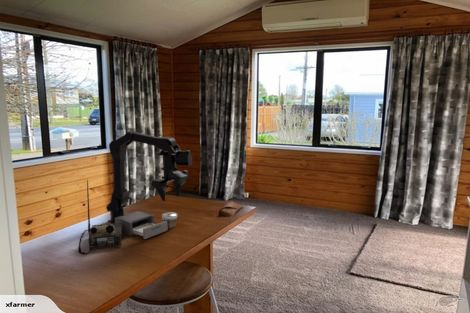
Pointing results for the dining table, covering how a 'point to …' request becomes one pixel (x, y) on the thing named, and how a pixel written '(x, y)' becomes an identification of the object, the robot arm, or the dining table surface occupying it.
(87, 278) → the dining table surface
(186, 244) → the dining table surface
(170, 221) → the walnut block
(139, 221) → the grey drawer cabinet
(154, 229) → the tray
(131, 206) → the dining table surface
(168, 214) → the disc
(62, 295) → the dining table surface
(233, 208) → the sunglasses case
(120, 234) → the radio
